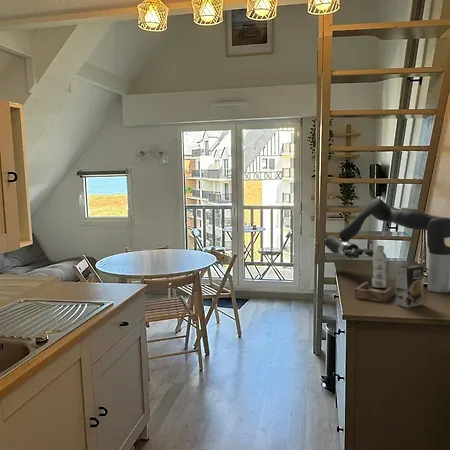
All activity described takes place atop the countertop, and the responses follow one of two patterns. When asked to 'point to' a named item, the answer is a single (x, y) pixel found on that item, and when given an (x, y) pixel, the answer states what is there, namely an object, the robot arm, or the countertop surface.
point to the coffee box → (409, 285)
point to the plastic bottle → (379, 268)
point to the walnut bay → (374, 293)
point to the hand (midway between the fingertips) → (365, 255)
